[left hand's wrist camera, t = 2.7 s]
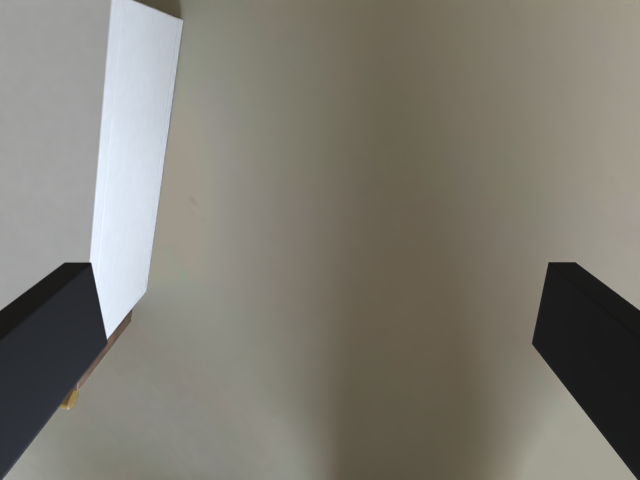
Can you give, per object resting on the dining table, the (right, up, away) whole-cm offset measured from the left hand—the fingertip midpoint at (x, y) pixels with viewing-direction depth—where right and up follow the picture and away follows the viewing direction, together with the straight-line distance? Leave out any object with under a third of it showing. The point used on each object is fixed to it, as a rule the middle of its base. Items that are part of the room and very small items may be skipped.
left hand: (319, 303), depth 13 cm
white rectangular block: (-17, +8, +19) cm, 27 cm away
